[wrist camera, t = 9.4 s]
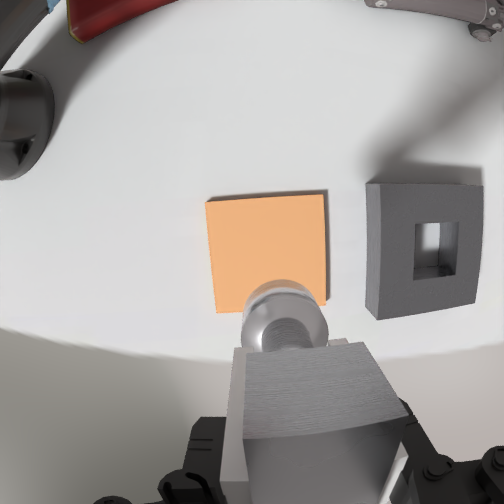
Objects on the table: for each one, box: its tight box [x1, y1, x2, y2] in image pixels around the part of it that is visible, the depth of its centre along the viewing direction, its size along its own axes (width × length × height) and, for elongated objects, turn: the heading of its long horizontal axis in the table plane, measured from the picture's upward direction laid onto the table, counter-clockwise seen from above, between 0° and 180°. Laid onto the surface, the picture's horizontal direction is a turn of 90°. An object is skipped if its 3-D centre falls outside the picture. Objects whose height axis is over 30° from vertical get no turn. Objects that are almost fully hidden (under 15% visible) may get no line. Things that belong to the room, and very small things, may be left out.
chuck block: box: [365, 183, 483, 320], centre depth 31 cm, size 14×14×4 cm
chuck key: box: [241, 279, 409, 504], centre depth 12 cm, size 7×4×13 cm, turn 4°
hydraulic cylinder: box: [364, 0, 504, 42], centre depth 21 cm, size 7×37×10 cm, turn 95°
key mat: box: [205, 194, 326, 313], centre depth 33 cm, size 12×12×1 cm
